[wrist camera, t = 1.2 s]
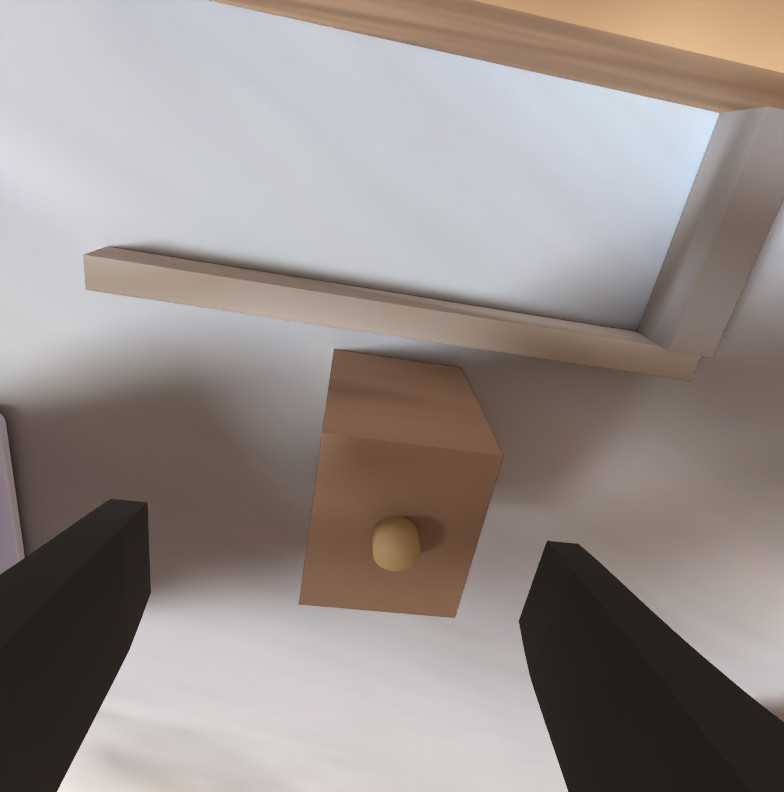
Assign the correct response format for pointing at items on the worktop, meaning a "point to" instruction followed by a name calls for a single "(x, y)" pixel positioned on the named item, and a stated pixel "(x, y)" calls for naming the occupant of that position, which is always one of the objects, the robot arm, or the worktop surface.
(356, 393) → the cabinet block
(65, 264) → the worktop surface
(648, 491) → the worktop surface
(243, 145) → the worktop surface
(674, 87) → the board
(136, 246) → the worktop surface
